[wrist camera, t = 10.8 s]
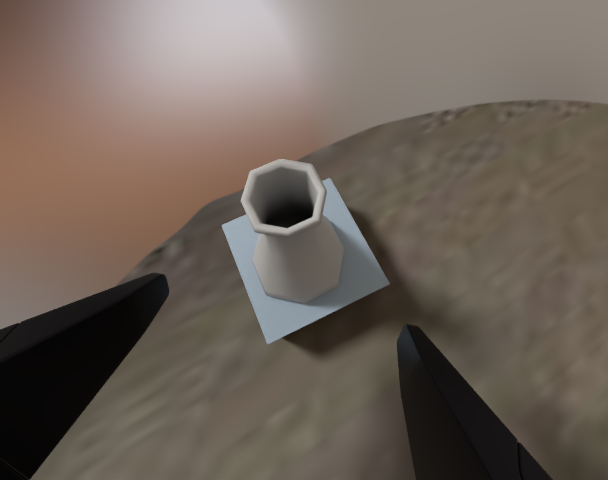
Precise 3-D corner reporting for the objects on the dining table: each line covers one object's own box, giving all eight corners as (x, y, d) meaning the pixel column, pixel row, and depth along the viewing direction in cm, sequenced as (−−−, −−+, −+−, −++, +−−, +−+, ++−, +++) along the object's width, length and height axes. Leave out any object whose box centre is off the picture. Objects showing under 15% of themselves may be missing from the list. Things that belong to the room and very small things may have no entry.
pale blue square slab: (380, 286, 20) (390, 283, 17) (273, 339, 19) (267, 344, 16) (328, 191, 22) (329, 177, 20) (231, 234, 21) (221, 225, 19)
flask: (337, 208, 19) (362, 106, 9) (352, 297, 17) (405, 281, 7) (250, 219, 19) (188, 126, 9) (255, 309, 17) (181, 309, 7)
